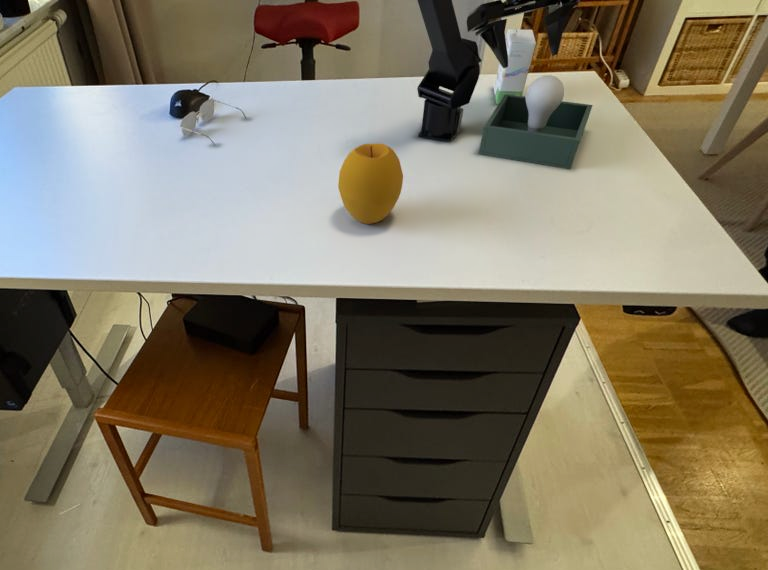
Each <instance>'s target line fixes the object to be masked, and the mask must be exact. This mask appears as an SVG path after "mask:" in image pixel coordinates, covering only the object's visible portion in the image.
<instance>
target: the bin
mask: <svg viewBox="0 0 768 570" xmlns="http://www.w3.org/2000/svg"><path fill="white" fill-rule="evenodd" d="M592 108H593V104H589V103H580V102H572V101H563V100H562V101H561V103H560V105H559V106H558V107H557V108H556V109H555V110H554V111H553V113H552V114H551V115H550V117H549V119H548V121H547V124H546V126H545V127H544V129H543V132H542V133H538V132H531V131H527V130H528V118H529V113H528V108H527V105H526V96H524V95H522V96H515V95H507V94H505V95H504V97H503V98H502V100H501V101H500V103H499V104H497V106H496V107H495V108H494V110H493V112H492V114H491V115H490V117H489V118H488V120H487V121H486V123H485V124H484V126H483V130H482V136H481V141H480V145H479V150H478V155H483V156H489V157H494V158H500V159H507V160H513V161H520V162H525V163H531V164H538V165H544V166H550V167H554V168H555V167H556V168H561V169H562V168H563V169H568V170H571V168H572V165H573V163H574V161H575V158H576V154H577V152H578V148H579V146H580V143H581V140H582V138H583V135H584V132H585V130H586V127H587V125H588V124H587V123H588V120H589V118H590V114H591V111H592Z"/></svg>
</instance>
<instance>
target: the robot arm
mask: <svg viewBox="0 0 768 570" xmlns="http://www.w3.org/2000/svg"><path fill="white" fill-rule="evenodd" d="M416 1H417V4H418V6H419V11H420V14H421V17H422V20H423V23H424V27H425V29H426V30H425V31H426V33H427V37H428V40H429V43H430V46H431V49H432V50H431V53H430V56H429V59H428V63H427V64H428V70H427V71H426V73H425V75H424V76H423V78H422V79H421V81H420V82H419V83H418V86H417V88H416V90H417V95H418V98H421V99H424V105H423V111H422V120H421V127H420V129H421V130H419V131H418V133H417V137H418V138H423V139H428V140H429V139H430V140H435V141H441V142H448V143H449V142H452V141H453V139H454V137H456V136H457V135H458V133H459V132H460V130H461V127H462V123H463V116H464V111H465V110H464V108H463V106H466V105H468V104H469V103H470V102H471V99H472V96H473V94H474V91H475V89H476V87H477V83H478V81H479V78H480V73H481V66H480V63H482V58H480V55H479V46H478V44H477V42H476V41H474V40H471V39H468V38H464V37H462V35H461V31H460V27H459V22H458V19H457V15H456V11H455V7H454V4H453V0H416ZM580 1H581V0H505V1H503V0H494V1H489V2H485V3H481V4H480V5H478V6H477V7H476V8H474V9H473V10H472V11H471V12H469V13H468V15H467V17H466V27H467V32H468V33H472V32H475V36H476V37H479V36H480V38H482V40H483V41H484V42H485V44H486V45H487V46H488V47H489V49H490V50H491V52H492V53H493V54H494V56H495V59H497V61H498V62H499V64H501V66H502V67H503V68H507V67H508V53H507V46H506V26H507V21H508V19H507V18H510V17H513V16H517V15H521V14H525V13H530V12H534V11H538V10H542V9H544V10H545V11H546V12H547V13H548V14H546V15H544V16H543V19H544V25H545V31H546V36H547V42H548V47H549V51H550V55H551V56H552V57H555V56H557V55H558V53H559V50H560V47H561V42H562V37H563V34H564V30H565V26H566V24H567V21H568V18H569V15H570V14H571V12H572V11H573V9H575V8H576V7H578V6H579V4H580ZM442 88H443V89H442ZM444 89H446V90H444ZM447 90H449V91H447ZM450 91H451V92H450Z"/></svg>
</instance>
